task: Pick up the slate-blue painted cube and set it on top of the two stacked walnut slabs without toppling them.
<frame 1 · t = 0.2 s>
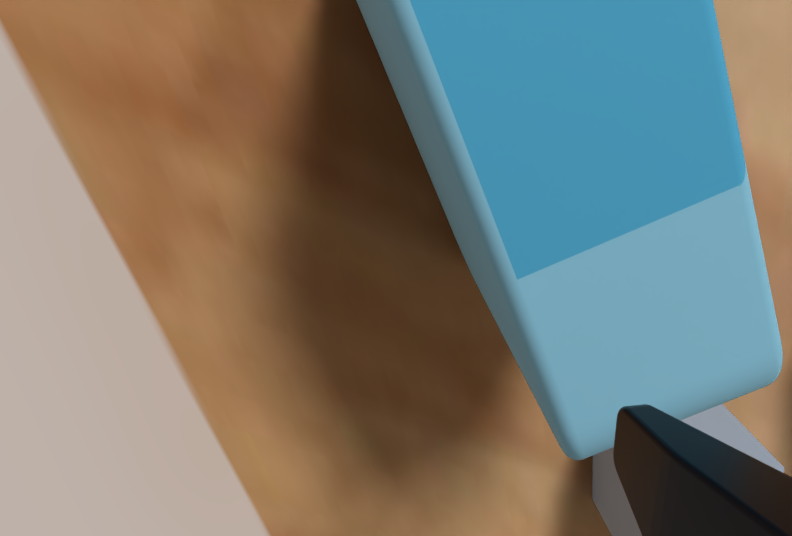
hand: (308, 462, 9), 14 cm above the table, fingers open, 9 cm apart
data package: (466, 91, 22), on the table
blue cube: (647, 444, 28), on the table
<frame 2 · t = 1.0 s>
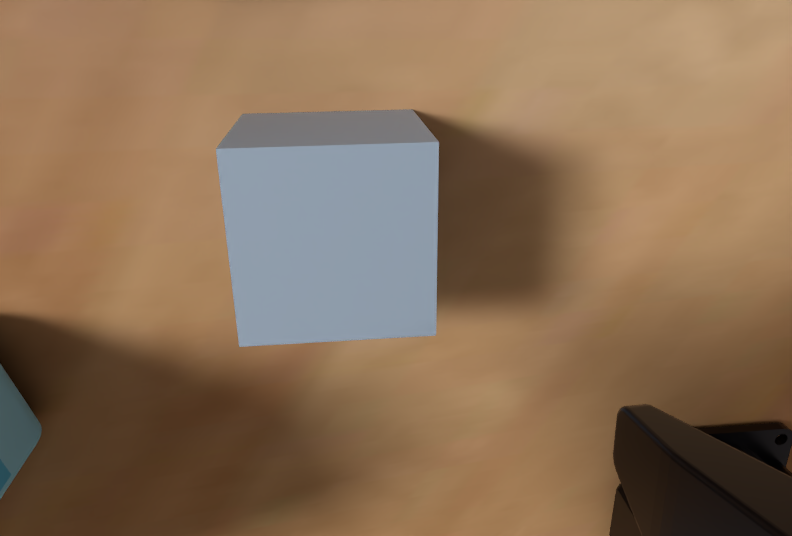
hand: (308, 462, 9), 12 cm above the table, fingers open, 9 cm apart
blue cube: (332, 192, 20), on the table
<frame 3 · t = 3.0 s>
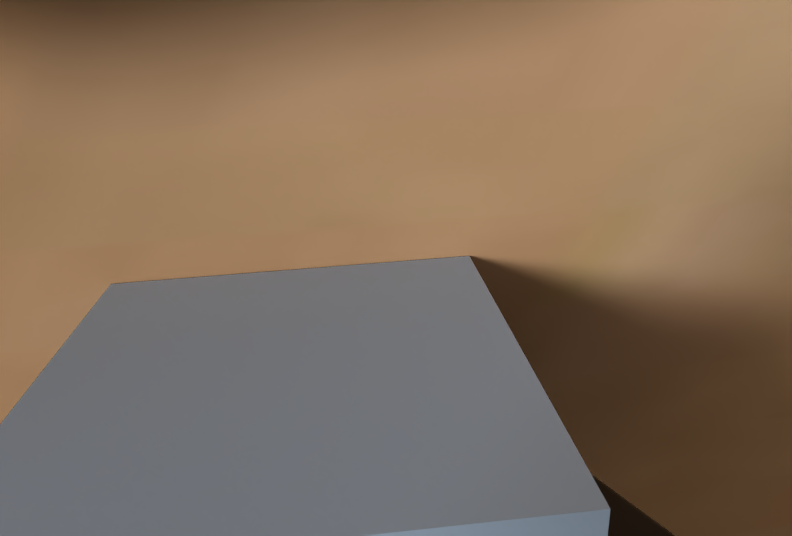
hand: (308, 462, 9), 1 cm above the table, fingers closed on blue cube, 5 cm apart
blue cube: (310, 418, 10), on the table, touching gripper
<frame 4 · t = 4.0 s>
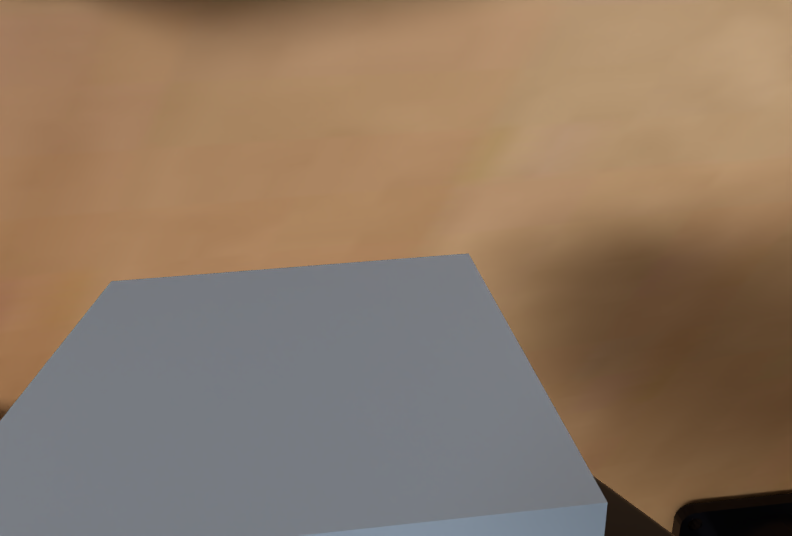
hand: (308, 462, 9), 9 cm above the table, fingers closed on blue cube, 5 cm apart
blue cube: (310, 415, 10), point 7 cm above the table, touching gripper
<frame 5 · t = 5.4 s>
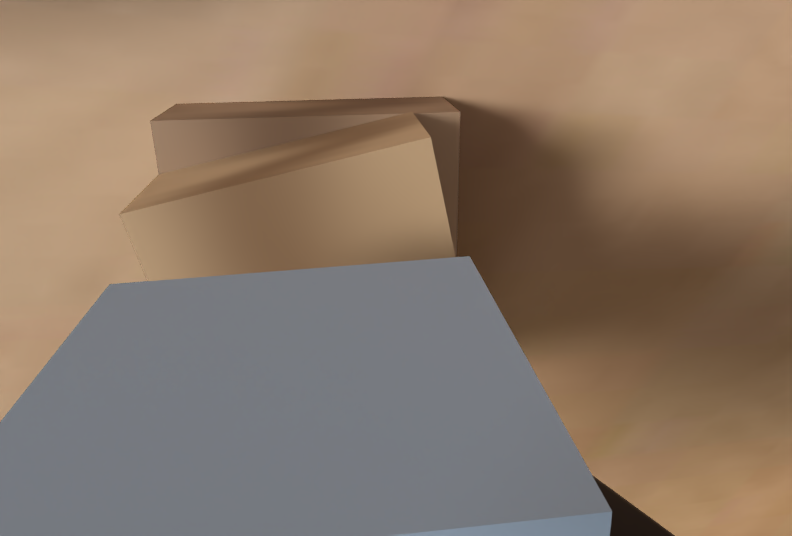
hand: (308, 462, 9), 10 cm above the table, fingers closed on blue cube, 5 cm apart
upper slab: (320, 260, 16), point 3 cm above the table, touching lower slab
lower slab: (319, 221, 19), on the table, touching upper slab
blue cube: (310, 418, 10), point 9 cm above the table, touching gripper
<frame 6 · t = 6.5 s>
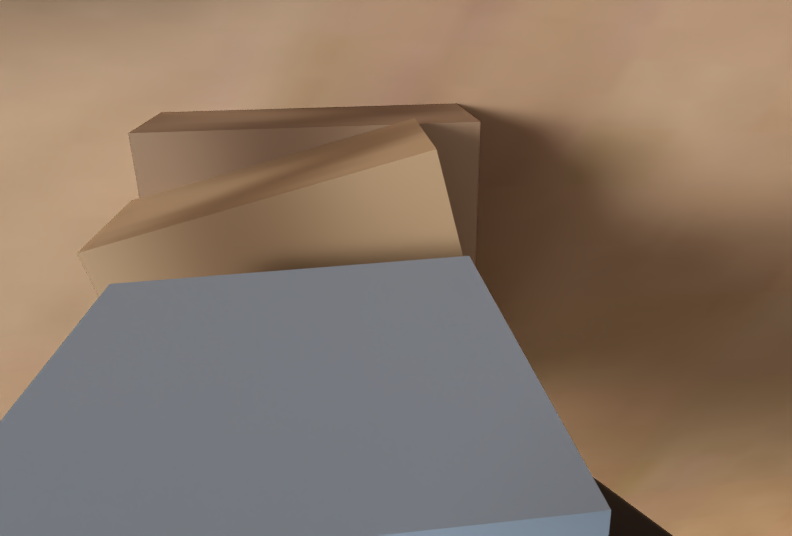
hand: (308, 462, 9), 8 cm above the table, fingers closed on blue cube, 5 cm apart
upper slab: (317, 288, 14), point 3 cm above the table, touching lower slab
lower slab: (320, 241, 17), on the table, touching upper slab
blue cube: (310, 418, 10), point 7 cm above the table, touching gripper
when the fingers open (8 cm above the table, at t = 6.5 s): blue cube drops 2 cm, resting on upper slab.
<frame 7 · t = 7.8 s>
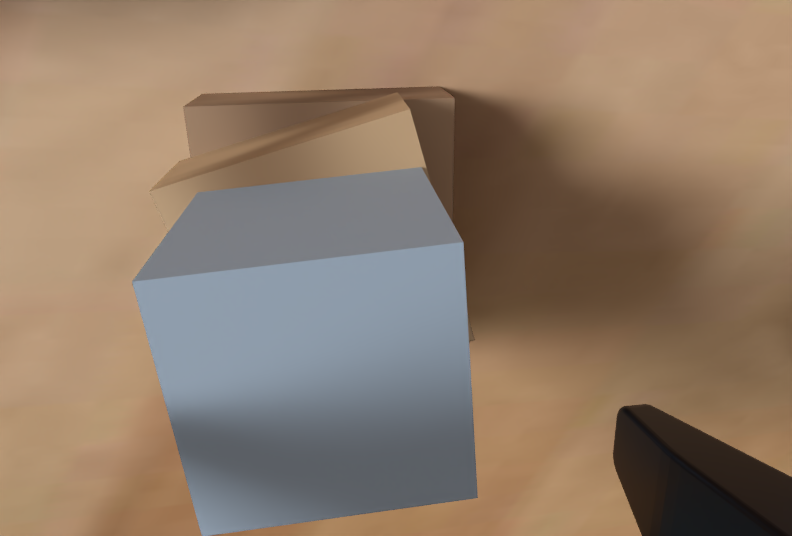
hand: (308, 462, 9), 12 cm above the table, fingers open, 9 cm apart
upper slab: (325, 230, 18), point 3 cm above the table, touching blue cube, lower slab
lower slab: (329, 200, 21), on the table, touching upper slab
blue cube: (325, 281, 15), point 6 cm above the table, touching upper slab
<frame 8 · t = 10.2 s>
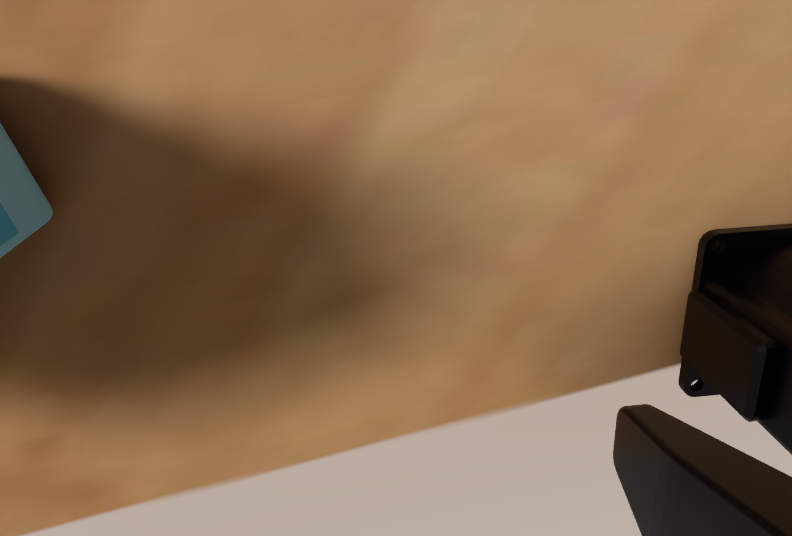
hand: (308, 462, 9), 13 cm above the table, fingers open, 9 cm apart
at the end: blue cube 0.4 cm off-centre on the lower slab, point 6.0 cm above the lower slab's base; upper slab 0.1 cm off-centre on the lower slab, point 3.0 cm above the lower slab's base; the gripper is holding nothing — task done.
